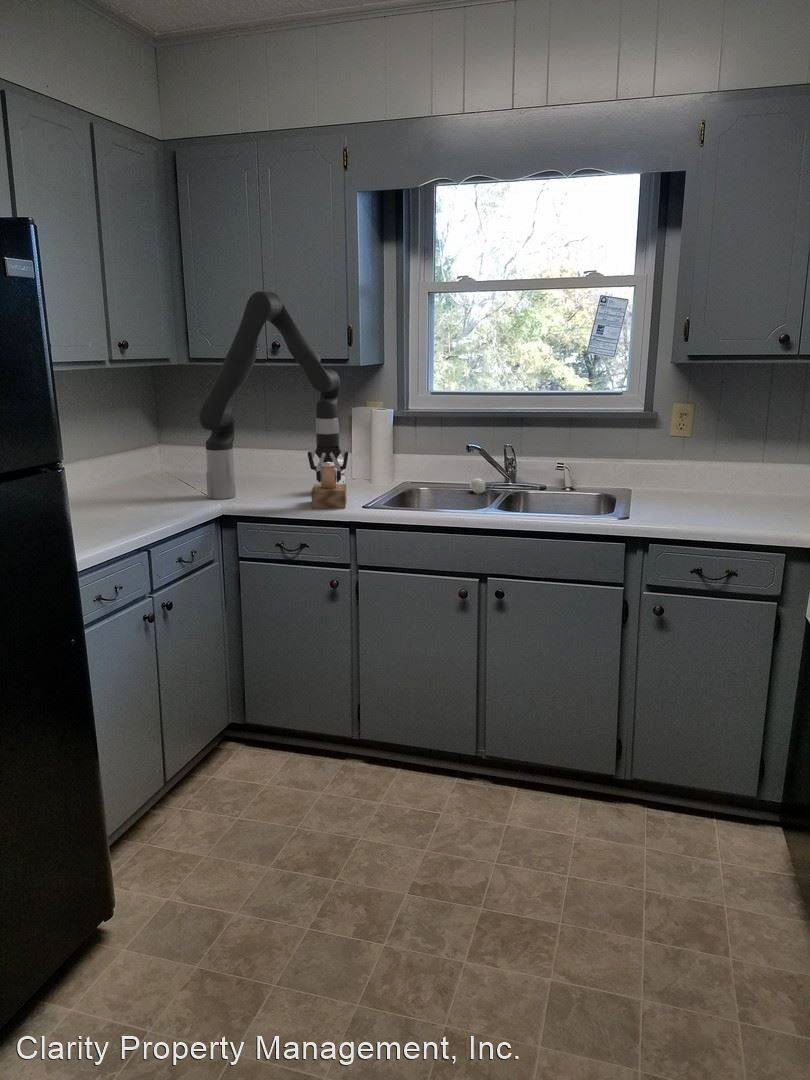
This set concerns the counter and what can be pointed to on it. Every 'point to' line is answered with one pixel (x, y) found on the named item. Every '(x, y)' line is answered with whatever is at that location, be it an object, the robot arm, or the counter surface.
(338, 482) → the ink box
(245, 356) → the robot arm
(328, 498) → the walnut pedestal
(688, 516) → the counter surface
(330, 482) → the terracotta canister
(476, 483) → the off-white ball
